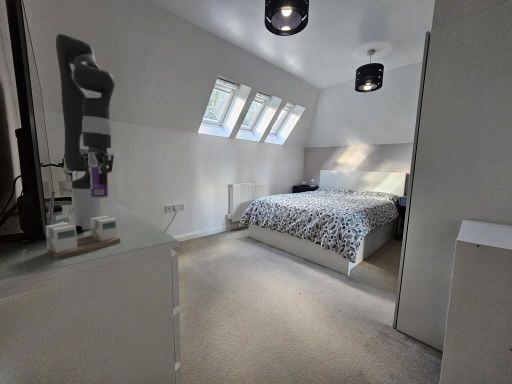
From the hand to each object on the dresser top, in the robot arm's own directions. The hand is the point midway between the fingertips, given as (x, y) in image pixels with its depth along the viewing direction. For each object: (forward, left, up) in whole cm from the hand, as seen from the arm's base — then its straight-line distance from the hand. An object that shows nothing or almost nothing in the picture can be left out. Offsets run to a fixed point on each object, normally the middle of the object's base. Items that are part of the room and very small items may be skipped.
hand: (99, 184), depth 72 cm
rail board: (-1, -4, -21) cm, 22 cm away
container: (0, 0, -5) cm, 5 cm away
